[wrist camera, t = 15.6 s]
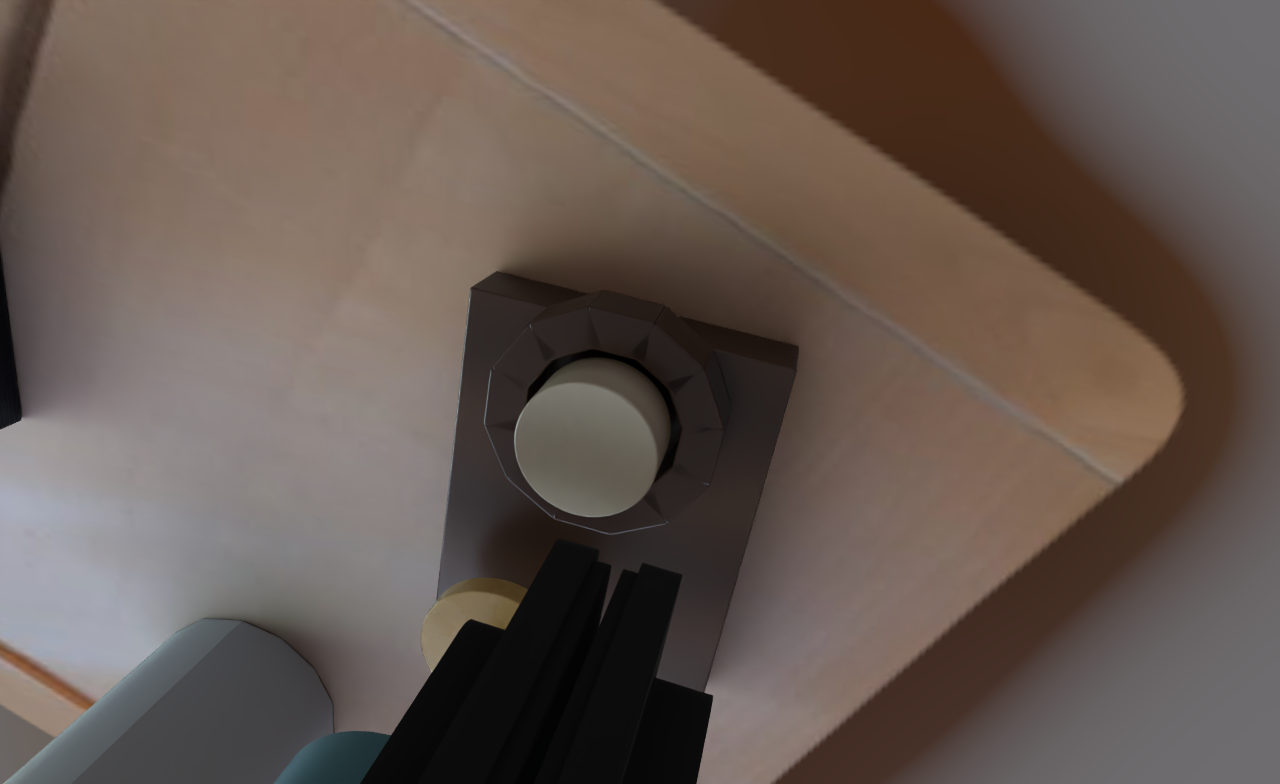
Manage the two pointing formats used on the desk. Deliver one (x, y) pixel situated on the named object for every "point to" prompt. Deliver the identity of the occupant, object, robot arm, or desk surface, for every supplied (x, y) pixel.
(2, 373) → the dimmer
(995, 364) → the desk surface
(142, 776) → the cup
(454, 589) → the lamp
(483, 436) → the lamp base
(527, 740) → the robot arm
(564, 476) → the switch
